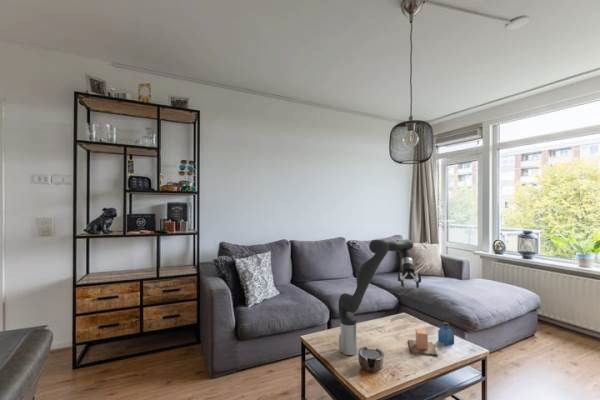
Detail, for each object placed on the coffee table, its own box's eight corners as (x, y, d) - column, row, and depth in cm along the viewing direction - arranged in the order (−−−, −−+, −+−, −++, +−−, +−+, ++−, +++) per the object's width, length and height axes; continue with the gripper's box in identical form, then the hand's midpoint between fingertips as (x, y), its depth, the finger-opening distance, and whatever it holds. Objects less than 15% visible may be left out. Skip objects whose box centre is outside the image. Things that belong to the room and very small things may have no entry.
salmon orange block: (417, 348, 164) (417, 333, 164) (415, 343, 170) (415, 328, 170) (427, 349, 163) (427, 334, 163) (425, 344, 168) (425, 329, 168)
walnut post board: (411, 353, 161) (411, 340, 161) (408, 341, 175) (408, 330, 175) (437, 356, 158) (437, 343, 158) (432, 343, 171) (432, 332, 171)
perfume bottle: (445, 339, 177) (445, 320, 177) (454, 343, 172) (454, 324, 172) (438, 340, 175) (438, 321, 175) (446, 345, 169) (446, 325, 169)
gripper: (397, 261, 189) (398, 283, 178) (419, 263, 185) (422, 285, 174) (396, 268, 194) (398, 289, 183) (418, 269, 190) (421, 291, 179)
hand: (410, 287), depth 178 cm, fingers open, 8 cm apart
